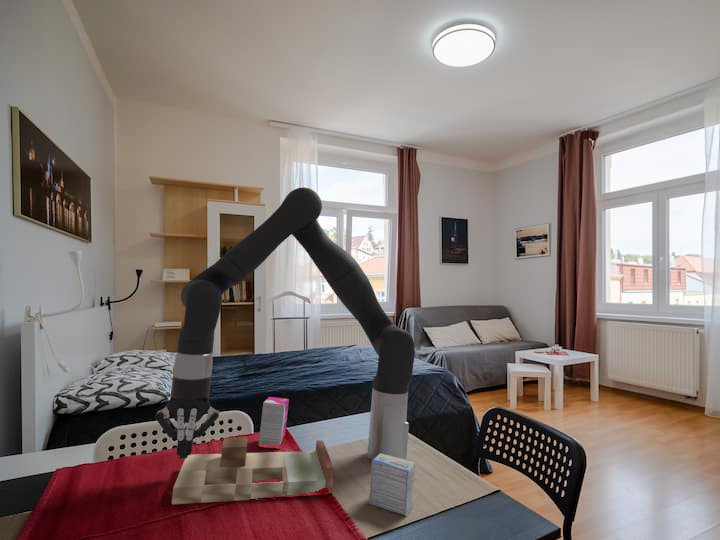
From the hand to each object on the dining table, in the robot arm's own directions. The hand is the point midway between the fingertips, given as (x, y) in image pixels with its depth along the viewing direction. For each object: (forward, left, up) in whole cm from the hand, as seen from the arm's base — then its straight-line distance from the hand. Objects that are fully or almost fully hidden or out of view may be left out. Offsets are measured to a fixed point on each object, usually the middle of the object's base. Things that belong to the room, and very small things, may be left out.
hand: (183, 456), depth 80 cm
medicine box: (-41, +15, -5) cm, 44 cm away
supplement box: (-19, -16, -5) cm, 25 cm away
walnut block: (-10, 0, -1) cm, 10 cm away
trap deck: (-15, +3, -4) cm, 16 cm away
